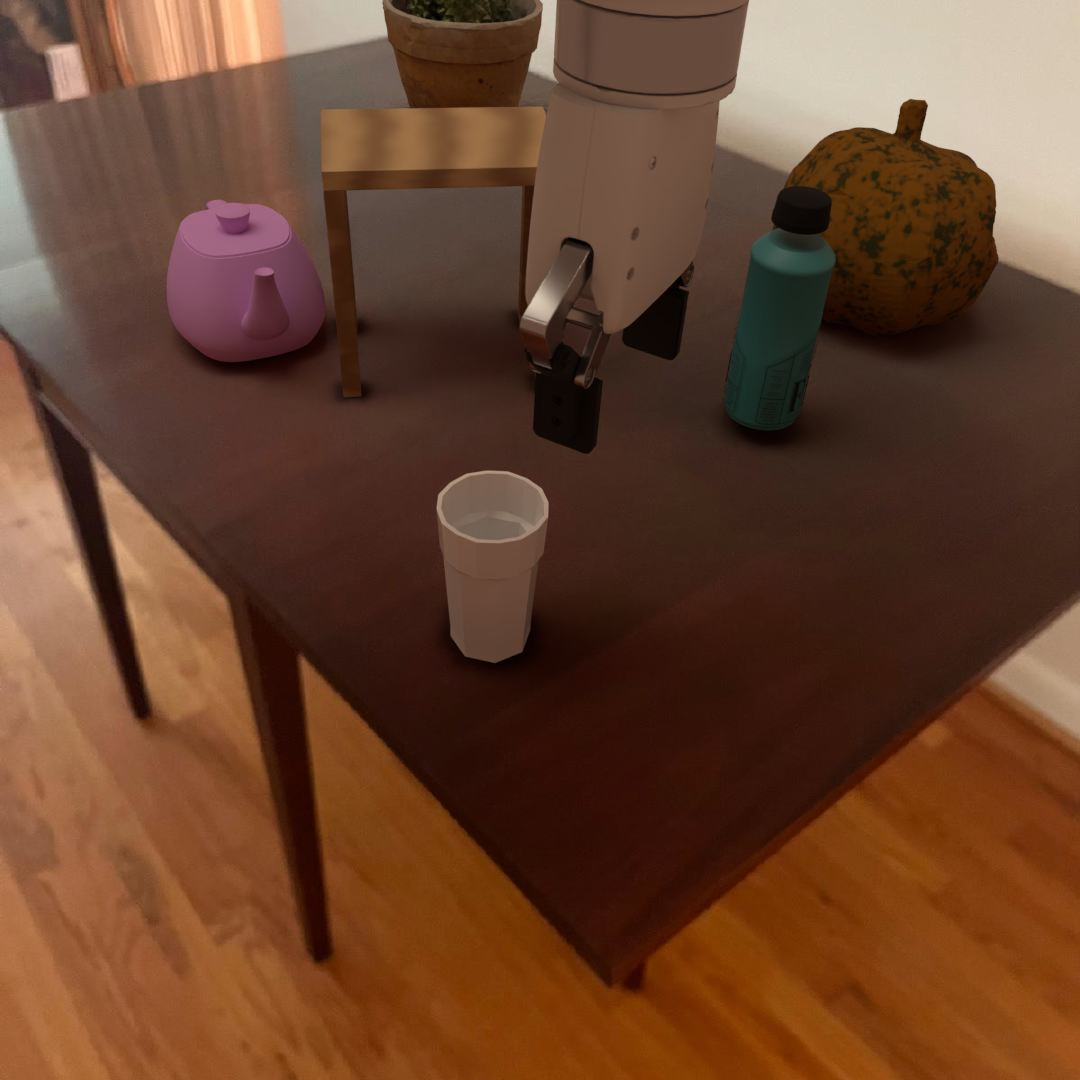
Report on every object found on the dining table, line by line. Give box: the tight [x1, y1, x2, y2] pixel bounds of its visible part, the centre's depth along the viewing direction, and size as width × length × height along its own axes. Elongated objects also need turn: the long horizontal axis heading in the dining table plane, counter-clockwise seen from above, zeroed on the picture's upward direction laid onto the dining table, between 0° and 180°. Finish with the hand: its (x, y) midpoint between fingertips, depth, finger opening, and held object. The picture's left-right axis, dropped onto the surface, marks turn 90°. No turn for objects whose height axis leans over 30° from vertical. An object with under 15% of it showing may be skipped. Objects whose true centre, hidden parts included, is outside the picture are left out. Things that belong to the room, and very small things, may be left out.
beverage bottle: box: [722, 186, 836, 432], centre depth 81 cm, size 6×7×20 cm
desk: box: [320, 106, 547, 398], centre depth 87 cm, size 18×12×20 cm, turn 99°
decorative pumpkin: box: [771, 98, 999, 339], centre depth 97 cm, size 20×21×20 cm
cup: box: [436, 470, 549, 664], centre depth 65 cm, size 7×7×11 cm
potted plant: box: [381, 0, 544, 108], centre depth 123 cm, size 18×19×25 cm
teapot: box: [166, 199, 326, 363], centre depth 90 cm, size 20×13×12 cm, turn 27°
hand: (609, 393), depth 54 cm, fingers open, 9 cm apart
